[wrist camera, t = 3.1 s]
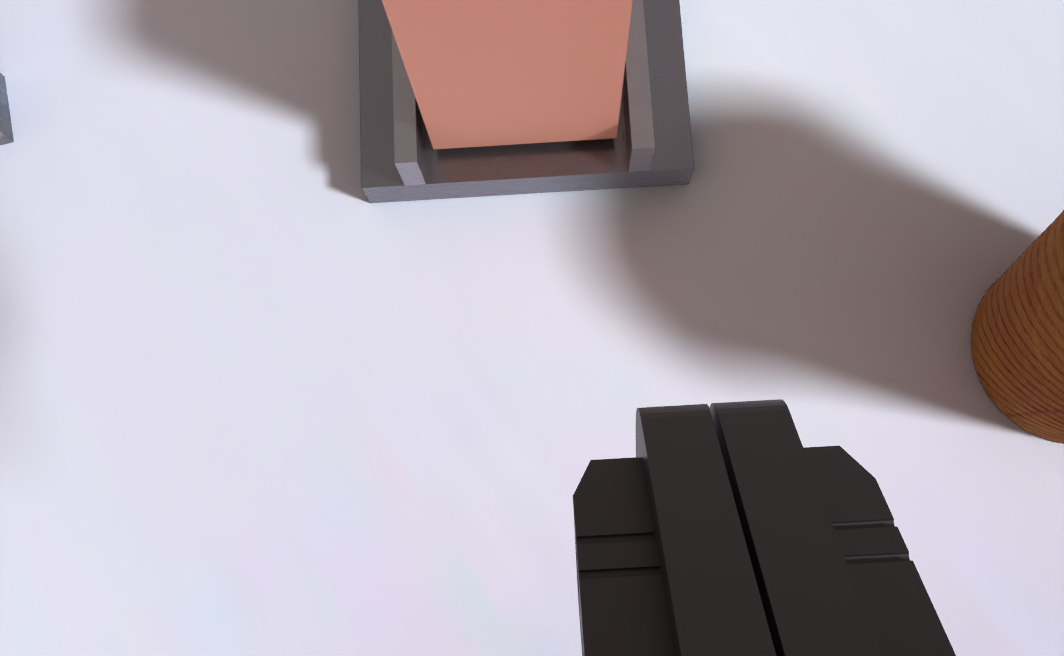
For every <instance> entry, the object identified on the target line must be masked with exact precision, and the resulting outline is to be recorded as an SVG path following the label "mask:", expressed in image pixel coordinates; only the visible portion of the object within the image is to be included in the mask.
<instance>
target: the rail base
mask: <svg viewBox="0 0 1064 656" xmlns="http://www.w3.org/2000/svg"><path fill="white" fill-rule="evenodd" d="M358 3H359V68H360V132H361V188H362V190H363V192H364V193H365V195H366V197H367V198H368V200H369V202H370V203H378V202H395V201H411V200H428V199H445V198H461V197H478V196H495V195H511V194H528V193H544V192H561V191H578V190H594V189H611V188H628V187H644V186H661V185H677V184H689V182H690V179H691V176H692V173H693V169H694V162H693V151H692V140H691V128H690V117H689V106H688V95H687V83H686V72H685V61H684V50H683V38H682V27H681V16H680V4H679V0H633V1H632V9H631V18H630V27H629V35H628V44H627V53H626V61H625V70H624V78H623V87H622V96H621V104H620V113H619V121H618V130H617V138H611V139H595V140H579V141H563V142H546V143H530V144H514V145H497V146H481V147H465V148H449V149H433V146H432V143H431V141H430V138H429V135H428V132H427V129H426V126H425V123H424V120H423V118H422V115H421V112H420V109H419V106H418V103H417V100H416V97H415V95H414V92H413V89H412V86H411V83H410V80H409V77H408V74H407V72H406V69H405V66H404V63H403V60H402V57H401V54H400V51H399V49H398V46H397V43H396V40H395V37H394V34H393V31H392V28H391V26H390V23H389V20H388V17H387V14H386V11H385V8H384V5H383V3H382V0H358Z"/></svg>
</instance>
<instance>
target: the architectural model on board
mask: <svg viewBox="0 0 1064 656" xmlns="http://www.w3.org/2000/svg"><path fill="white" fill-rule="evenodd" d="M11 142H14V140H13V133H12V126H11V118H10V111H9V104H8V97H7V90H6V83H5V77H4V76H3V75H2V74H1V73H0V145H3V144H7V143H11Z"/></svg>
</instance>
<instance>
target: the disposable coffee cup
mask: <svg viewBox="0 0 1064 656" xmlns="http://www.w3.org/2000/svg"><path fill="white" fill-rule="evenodd" d="M971 347H972V356H973V362H974V365H975V367H976V370H977V373H978V376H979V379H980V382H981V384H982V385H983V387H984V389H985V391H986V393H987V395H988V396H989V397H990V399H991V400H992V401H993V402H994V404H995V405H996V406H997V407H998V409H999V410H1000V411H1001V412H1002V413H1003V414H1005V415H1006V416H1007V417H1008V418H1010V419H1011V420H1012V421H1013V422H1014V423H1016V424H1017V425H1018V426H1019V427H1021V428H1023V429H1024V430H1026V431H1028V432H1030V433H1031V434H1033V435H1036V436H1038V437H1041V438H1044V439H1046V440H1049V441H1052V442H1057V443H1063V444H1064V210H1063V212H1062V213H1061V214H1060V215H1059V216H1058V217H1057V218H1056V219H1055V220H1054V222H1053V223H1052V224H1050V225H1049V226H1048V228H1047V229H1046V230H1045V231H1044V232H1043V233H1042V234H1041V235H1040V236H1039V237H1038V238H1037V239H1036V240H1035V241H1034V242H1033V243H1032V244H1031V246H1030V247H1029V248H1028V249H1026V251H1025V252H1024V253H1023V254H1022V255H1021V256H1020V257H1019V258H1018V259H1017V260H1016V261H1015V262H1014V263H1013V264H1012V266H1011V267H1010V268H1009V269H1008V270H1007V271H1006V272H1005V273H1004V274H1003V275H1002V276H1001V277H1000V278H998V279H997V280H996V281H995V283H994V284H993V285H992V286H991V287H990V288H989V289H988V290H987V292H986V293H985V295H984V297H983V299H982V300H981V302H980V304H979V306H978V308H977V311H976V314H975V318H974V321H973V325H972V335H971Z"/></svg>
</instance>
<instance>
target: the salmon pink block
mask: <svg viewBox="0 0 1064 656" xmlns="http://www.w3.org/2000/svg"><path fill="white" fill-rule="evenodd" d="M632 1H633V0H382V3H383V5H384V8H385V11H386V14H387V17H388V20H389V23H390V26H391V28H392V31H393V34H394V37H395V40H396V43H397V46H398V49H399V51H400V54H401V57H402V60H403V63H404V66H405V69H406V72H407V74H408V77H409V80H410V83H411V86H412V89H413V92H414V95H415V97H416V100H417V103H418V106H419V109H420V112H421V115H422V118H423V120H424V123H425V126H426V129H427V132H428V135H429V138H430V141H431V143H432V146H433V149H449V148H465V147H481V146H497V145H514V144H530V143H546V142H563V141H579V140H595V139H611V138H617V130H618V121H619V113H620V104H621V96H622V87H623V78H624V70H625V61H626V53H627V44H628V35H629V27H630V18H631V9H632Z"/></svg>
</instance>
